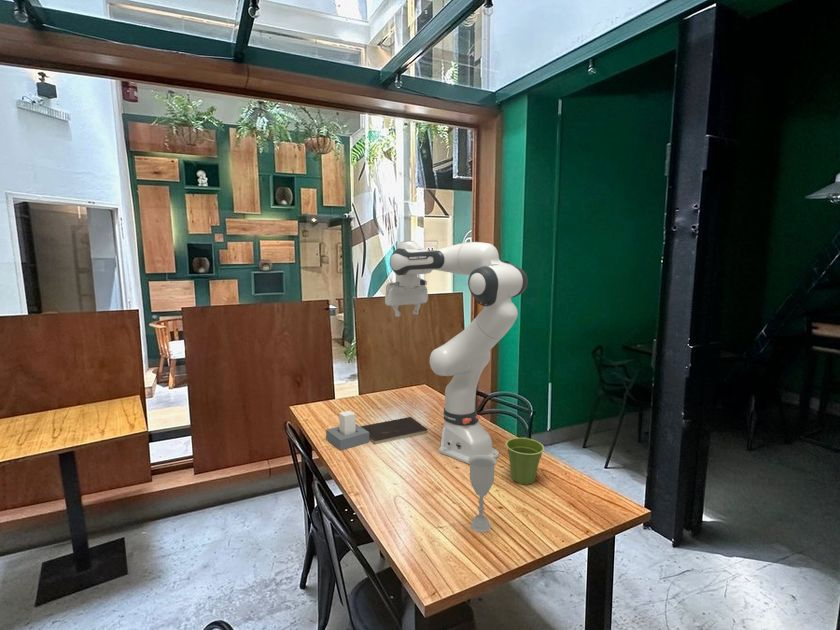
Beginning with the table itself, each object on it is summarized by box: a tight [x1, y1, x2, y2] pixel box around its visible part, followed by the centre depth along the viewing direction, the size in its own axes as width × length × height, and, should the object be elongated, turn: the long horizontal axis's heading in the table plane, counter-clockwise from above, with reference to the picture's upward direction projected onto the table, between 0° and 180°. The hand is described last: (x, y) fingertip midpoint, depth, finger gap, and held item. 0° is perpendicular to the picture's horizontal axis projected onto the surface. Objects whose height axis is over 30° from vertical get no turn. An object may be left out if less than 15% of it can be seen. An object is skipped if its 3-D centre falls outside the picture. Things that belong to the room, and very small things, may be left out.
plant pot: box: [505, 437, 545, 485], centre depth 135 cm, size 12×12×11 cm
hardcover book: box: [359, 416, 429, 445], centre depth 173 cm, size 16×23×2 cm
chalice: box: [468, 455, 497, 533], centre depth 111 cm, size 7×7×18 cm
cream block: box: [338, 410, 357, 435], centre depth 163 cm, size 4×4×11 cm
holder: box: [325, 423, 370, 451], centre depth 164 cm, size 12×12×4 cm
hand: (406, 315), depth 176 cm, fingers open, 8 cm apart
